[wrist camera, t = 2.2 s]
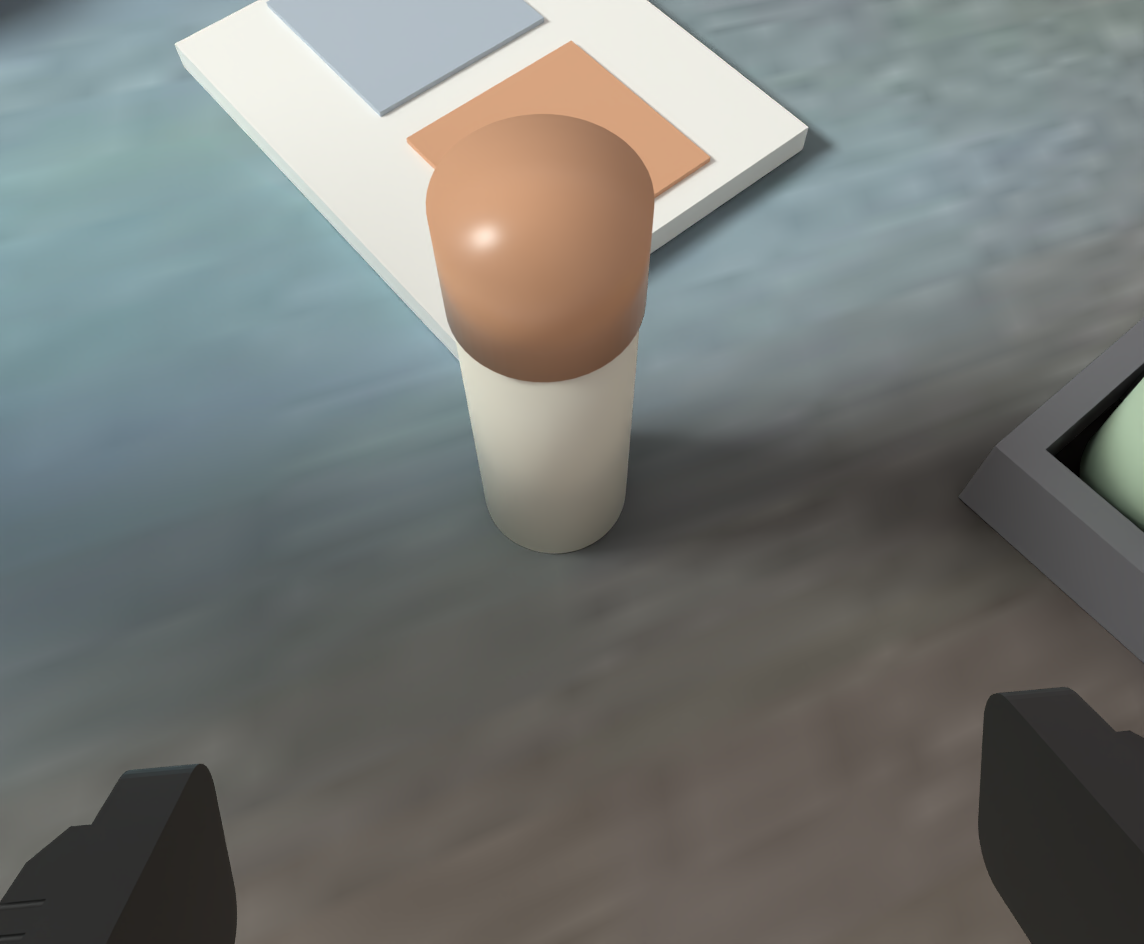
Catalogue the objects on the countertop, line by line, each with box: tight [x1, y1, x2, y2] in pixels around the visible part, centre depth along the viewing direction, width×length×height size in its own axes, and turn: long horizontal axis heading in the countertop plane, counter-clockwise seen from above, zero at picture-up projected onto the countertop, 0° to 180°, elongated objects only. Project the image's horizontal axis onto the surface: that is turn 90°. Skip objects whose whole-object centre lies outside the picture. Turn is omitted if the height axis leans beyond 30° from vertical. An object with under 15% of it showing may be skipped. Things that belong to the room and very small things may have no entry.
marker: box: [426, 114, 654, 554], centre depth 25 cm, size 4×4×12 cm
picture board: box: [175, 0, 808, 360], centre depth 36 cm, size 14×17×1 cm
